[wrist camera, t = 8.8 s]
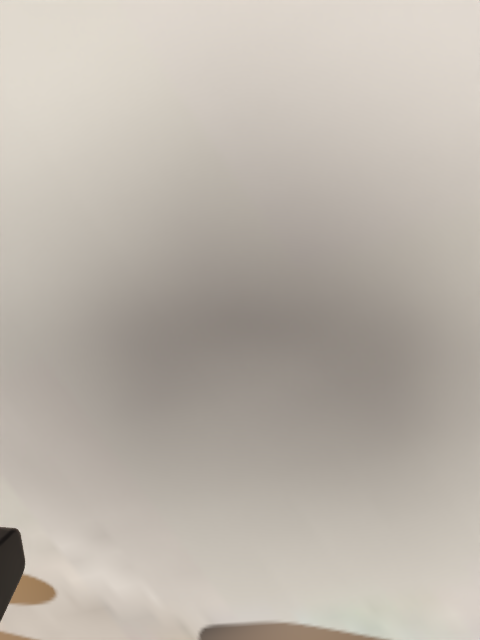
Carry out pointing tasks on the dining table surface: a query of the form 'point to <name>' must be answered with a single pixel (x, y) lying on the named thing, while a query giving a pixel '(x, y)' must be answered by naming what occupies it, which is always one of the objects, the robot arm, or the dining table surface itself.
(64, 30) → the dining table surface
